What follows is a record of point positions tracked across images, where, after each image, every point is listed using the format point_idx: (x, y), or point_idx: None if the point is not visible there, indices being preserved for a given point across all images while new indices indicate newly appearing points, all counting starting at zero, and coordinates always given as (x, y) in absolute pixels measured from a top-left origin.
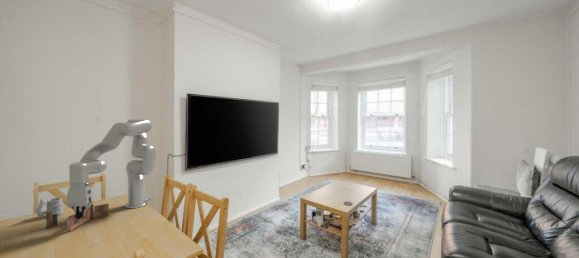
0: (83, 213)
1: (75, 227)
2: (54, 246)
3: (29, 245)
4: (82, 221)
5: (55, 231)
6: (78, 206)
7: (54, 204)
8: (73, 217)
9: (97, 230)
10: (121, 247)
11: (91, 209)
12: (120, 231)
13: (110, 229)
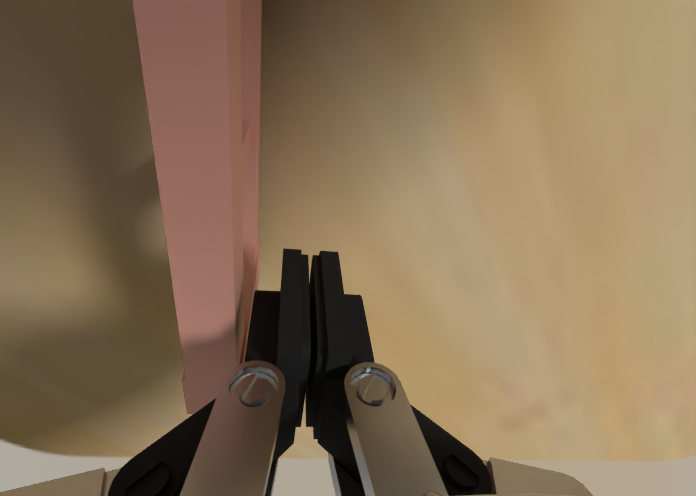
0: (364, 331)
1: (258, 216)
2: (303, 422)
3: (109, 409)
4: (257, 101)
5: (67, 231)
6: (242, 481)
7: None
8: (240, 349)
9: (501, 259)
10: (664, 436)
11: None
12: (684, 295)
13: (610, 254)
